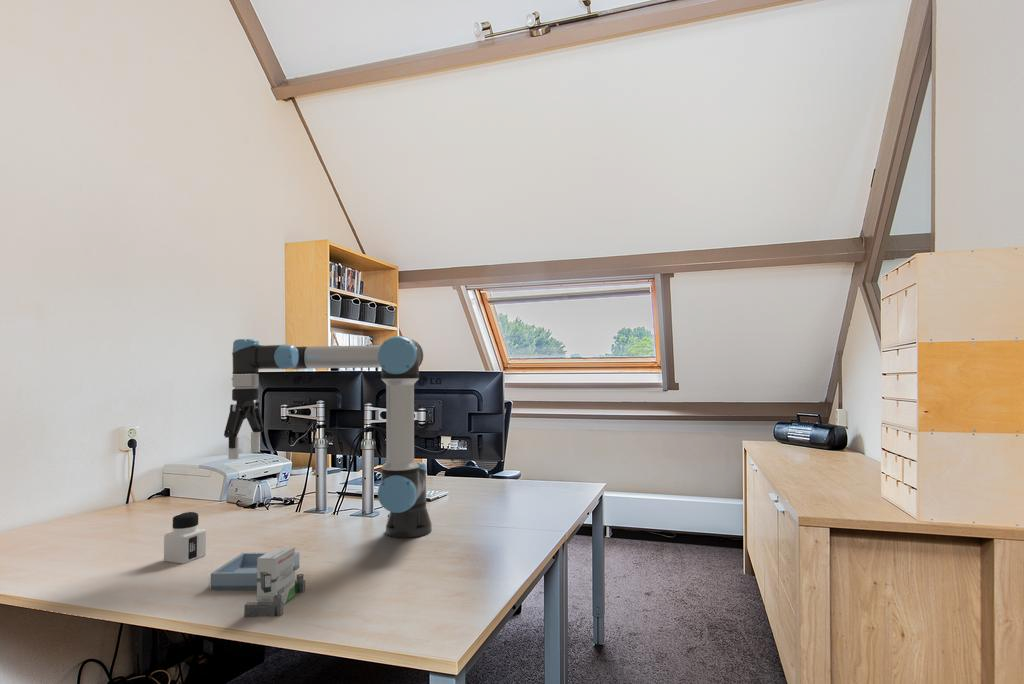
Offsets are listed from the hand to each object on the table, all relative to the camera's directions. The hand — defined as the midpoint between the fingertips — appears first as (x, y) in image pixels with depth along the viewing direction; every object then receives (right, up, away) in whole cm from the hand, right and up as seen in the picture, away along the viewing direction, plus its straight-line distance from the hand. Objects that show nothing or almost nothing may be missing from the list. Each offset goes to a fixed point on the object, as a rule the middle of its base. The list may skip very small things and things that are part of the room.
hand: (244, 455), depth 176 cm
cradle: (+29, -25, -45) cm, 59 cm away
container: (-11, -28, -13) cm, 33 cm away
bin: (+17, -26, -29) cm, 43 cm away
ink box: (+29, -26, -45) cm, 59 cm away
